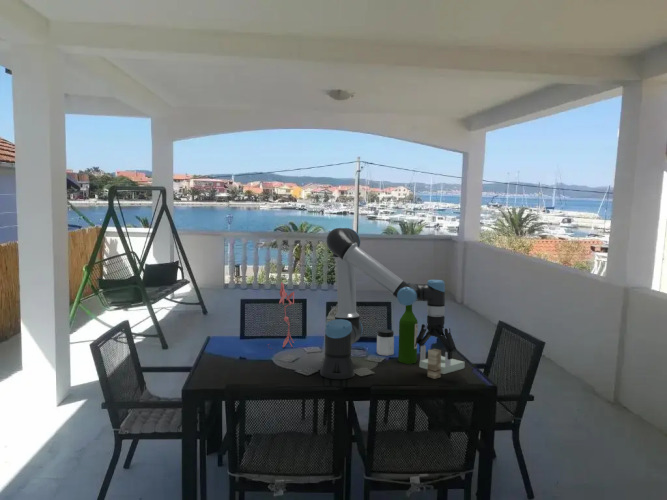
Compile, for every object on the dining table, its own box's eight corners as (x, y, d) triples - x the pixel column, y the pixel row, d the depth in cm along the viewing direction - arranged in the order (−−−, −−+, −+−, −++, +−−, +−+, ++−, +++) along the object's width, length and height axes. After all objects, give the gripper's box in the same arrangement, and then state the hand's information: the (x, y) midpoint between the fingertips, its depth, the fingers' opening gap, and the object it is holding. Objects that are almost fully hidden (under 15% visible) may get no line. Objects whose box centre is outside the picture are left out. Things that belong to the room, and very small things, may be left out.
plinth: (443, 374, 219) (443, 367, 219) (419, 367, 230) (419, 360, 230) (464, 368, 230) (464, 361, 229) (440, 361, 240) (440, 355, 240)
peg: (434, 378, 212) (435, 351, 211) (427, 376, 215) (428, 349, 214) (440, 377, 214) (441, 350, 214) (433, 375, 218) (433, 348, 217)
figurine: (296, 340, 280) (296, 279, 278) (293, 351, 254) (292, 284, 252) (269, 340, 280) (269, 279, 278) (263, 351, 254) (263, 284, 252)
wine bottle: (416, 364, 234) (418, 297, 233) (397, 363, 236) (399, 296, 235) (416, 359, 243) (418, 294, 242) (398, 358, 245) (400, 294, 243)
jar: (385, 356, 248) (386, 333, 247) (373, 353, 253) (374, 330, 253) (396, 353, 254) (397, 331, 253) (384, 350, 260) (385, 328, 259)
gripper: (465, 318, 207) (464, 367, 207) (419, 310, 226) (418, 356, 226) (454, 320, 202) (453, 370, 202) (408, 312, 221) (407, 358, 221)
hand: (435, 363), depth 214 cm, fingers open, 13 cm apart
